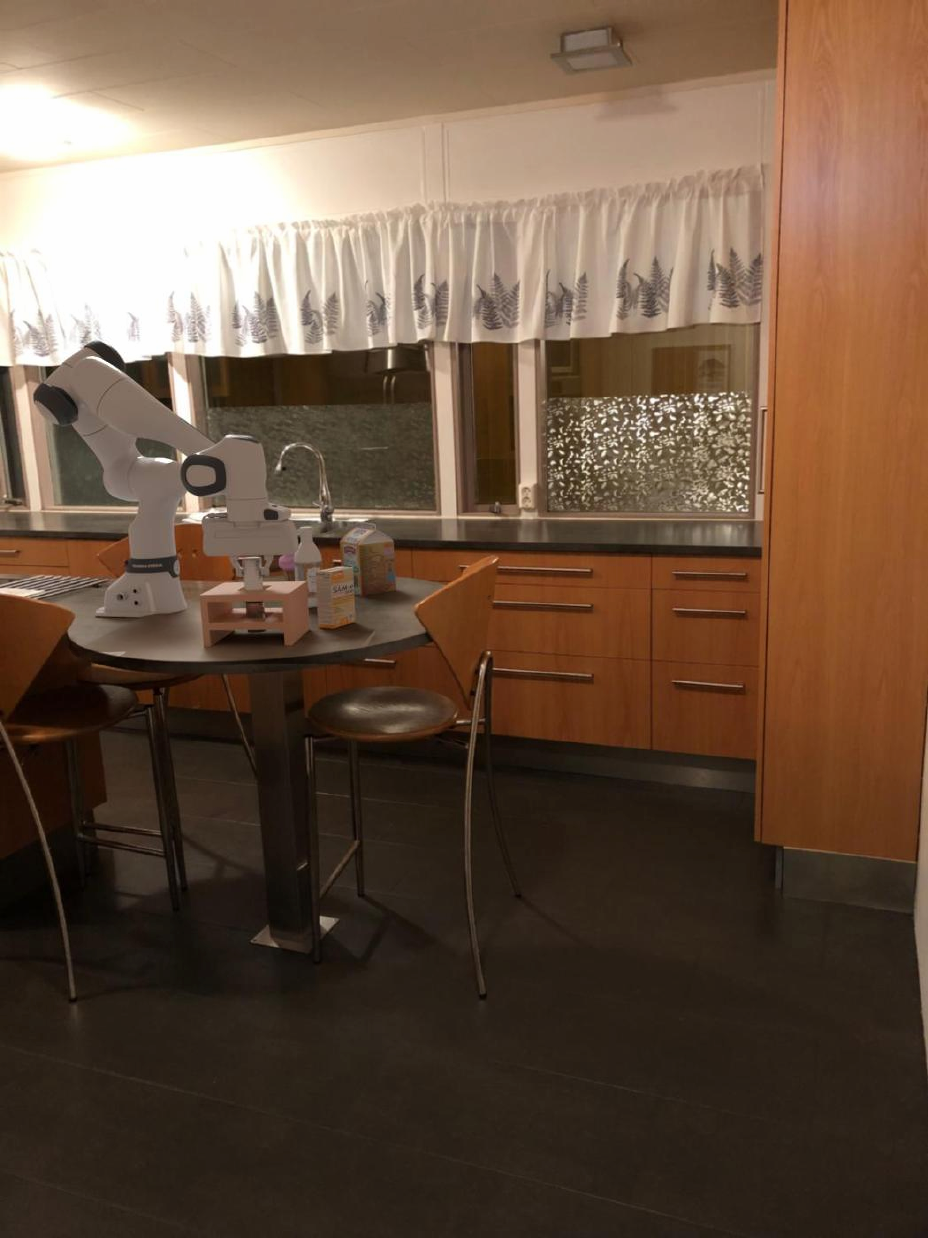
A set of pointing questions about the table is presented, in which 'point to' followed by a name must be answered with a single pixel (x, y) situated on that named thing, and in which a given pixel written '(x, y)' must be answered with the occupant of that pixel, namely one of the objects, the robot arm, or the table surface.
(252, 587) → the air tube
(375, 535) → the milk carton
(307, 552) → the bath foam
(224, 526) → the robot arm
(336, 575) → the supplement box
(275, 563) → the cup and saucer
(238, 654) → the table surface
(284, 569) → the cupcake
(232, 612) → the collar frame
